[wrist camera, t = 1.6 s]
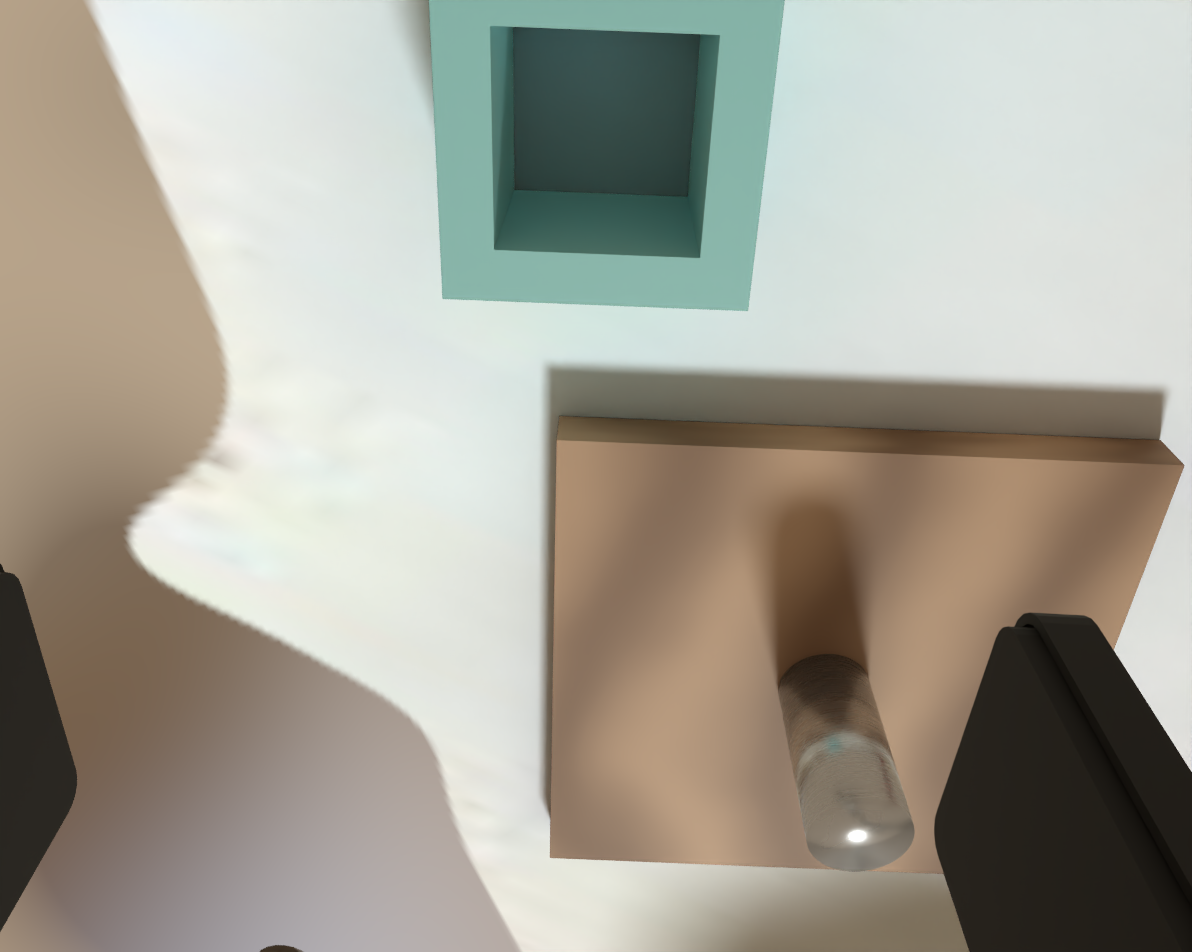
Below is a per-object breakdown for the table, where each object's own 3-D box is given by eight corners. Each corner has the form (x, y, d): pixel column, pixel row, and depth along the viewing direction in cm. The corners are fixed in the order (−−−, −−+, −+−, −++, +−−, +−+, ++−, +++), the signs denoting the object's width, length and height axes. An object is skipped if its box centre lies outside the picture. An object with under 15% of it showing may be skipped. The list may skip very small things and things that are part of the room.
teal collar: (758, -48, 24) (788, -30, 20) (728, 242, 27) (747, 310, 23) (461, -60, 24) (426, -44, 20) (470, 232, 27) (442, 298, 23)
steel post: (876, 655, 33) (924, 801, 28) (861, 723, 34) (903, 873, 29) (784, 651, 33) (814, 797, 28) (772, 720, 34) (799, 869, 29)
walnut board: (1160, 440, 30) (1184, 465, 29) (1012, 844, 39) (1026, 877, 38) (559, 415, 30) (556, 440, 29) (552, 825, 39) (549, 857, 38)
